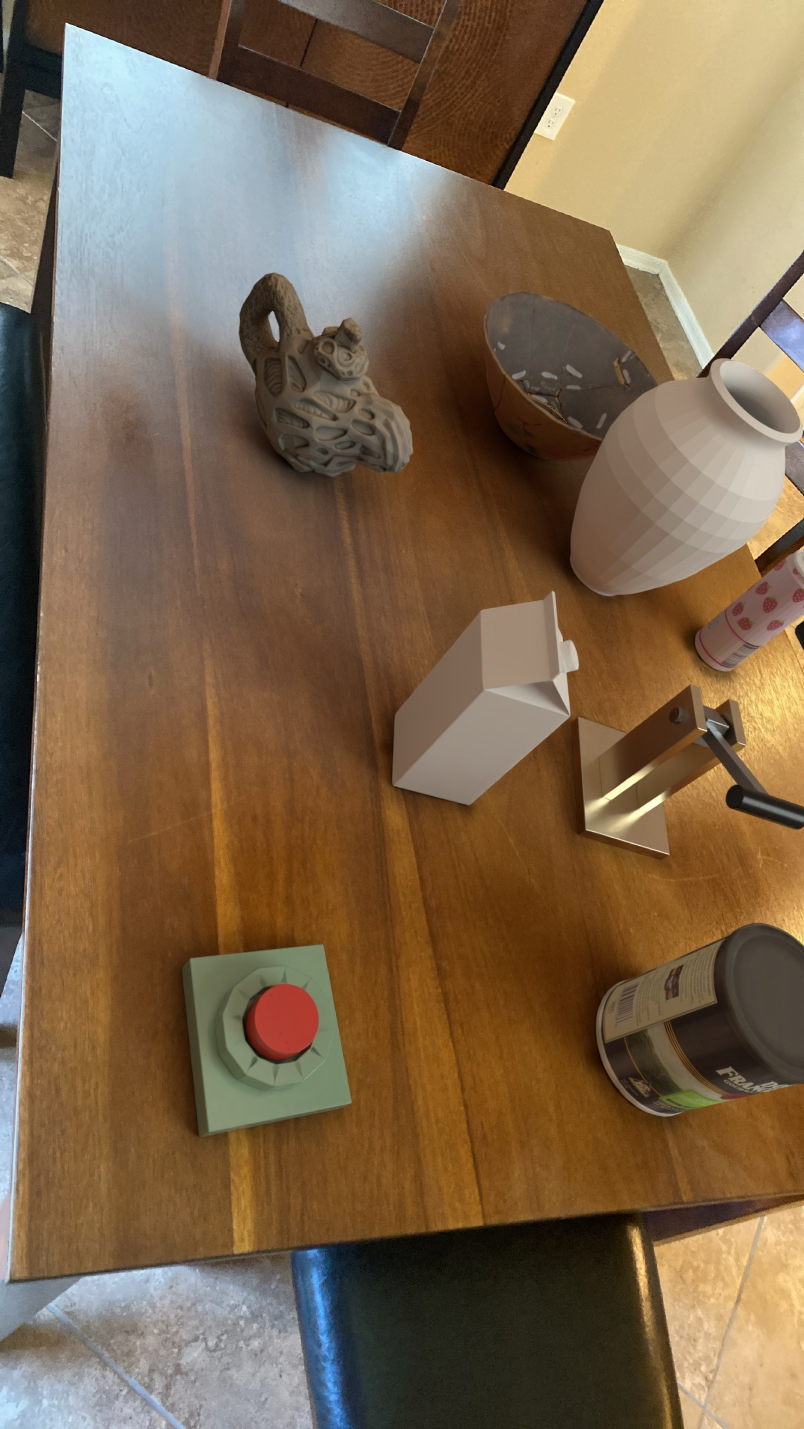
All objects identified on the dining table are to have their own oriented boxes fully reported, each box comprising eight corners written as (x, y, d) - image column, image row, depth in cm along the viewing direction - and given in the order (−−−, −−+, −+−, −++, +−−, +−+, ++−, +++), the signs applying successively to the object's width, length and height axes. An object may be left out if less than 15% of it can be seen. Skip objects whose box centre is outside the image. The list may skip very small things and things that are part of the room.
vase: (577, 644, 89) (755, 469, 70) (502, 511, 95) (647, 318, 76) (687, 627, 99) (868, 471, 80) (612, 508, 105) (764, 336, 86)
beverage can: (706, 624, 101) (806, 540, 90) (740, 661, 100) (845, 581, 89) (684, 641, 97) (785, 556, 86) (719, 680, 96) (826, 599, 85)
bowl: (546, 357, 118) (590, 293, 110) (650, 494, 111) (704, 436, 103) (405, 357, 103) (444, 283, 95) (515, 517, 96) (566, 451, 88)
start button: (314, 1054, 53) (324, 1047, 51) (250, 1065, 51) (259, 1058, 49) (303, 987, 54) (312, 980, 53) (241, 995, 52) (249, 988, 51)
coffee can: (715, 1119, 67) (867, 1085, 56) (606, 1114, 63) (746, 1078, 52) (687, 984, 72) (820, 930, 62) (585, 972, 69) (708, 913, 58)
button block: (339, 1109, 55) (363, 1098, 52) (198, 1138, 51) (216, 1128, 48) (312, 953, 60) (333, 935, 57) (181, 967, 55) (196, 949, 52)
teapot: (405, 497, 89) (476, 381, 78) (339, 542, 82) (408, 421, 70) (256, 360, 90) (304, 226, 79) (177, 391, 83) (218, 248, 71)
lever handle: (795, 838, 63) (815, 813, 62) (729, 817, 61) (750, 791, 60) (716, 738, 74) (732, 715, 73) (659, 717, 72) (675, 694, 71)
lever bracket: (661, 859, 78) (775, 793, 68) (577, 835, 76) (683, 761, 65) (647, 749, 85) (749, 673, 75) (570, 722, 83) (665, 640, 72)
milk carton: (390, 787, 70) (514, 656, 55) (393, 714, 74) (509, 574, 59) (468, 807, 72) (605, 686, 58) (467, 735, 76) (595, 606, 62)
